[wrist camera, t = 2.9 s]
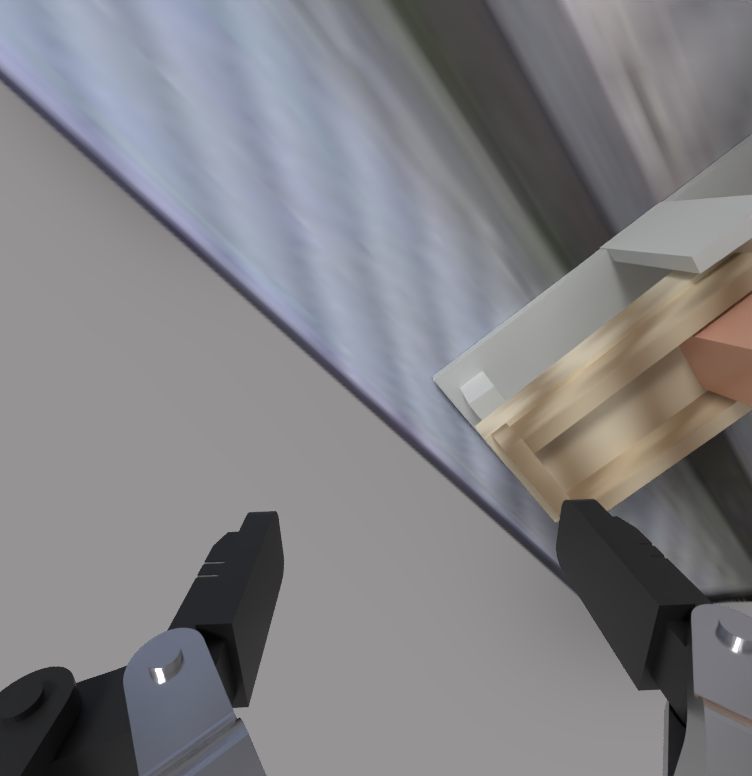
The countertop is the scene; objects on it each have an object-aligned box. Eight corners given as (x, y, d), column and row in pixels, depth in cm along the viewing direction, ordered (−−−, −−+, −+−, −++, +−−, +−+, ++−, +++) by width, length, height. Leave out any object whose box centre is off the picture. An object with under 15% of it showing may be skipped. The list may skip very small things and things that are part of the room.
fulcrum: (897, 21, 25) (1174, -87, 17) (937, 182, 29) (1182, 163, 20) (431, 375, 35) (452, 426, 26) (506, 464, 38) (547, 535, 29)
